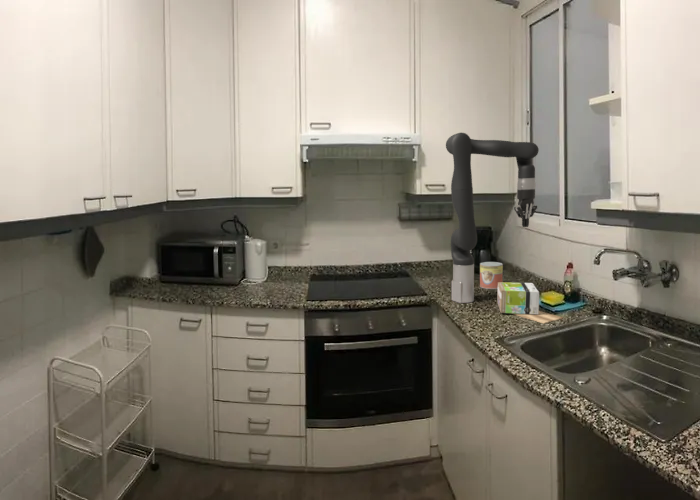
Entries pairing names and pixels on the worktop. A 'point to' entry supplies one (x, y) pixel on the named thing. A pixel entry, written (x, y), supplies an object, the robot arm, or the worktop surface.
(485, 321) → the worktop surface
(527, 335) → the worktop surface
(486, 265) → the canned food
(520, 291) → the tea box
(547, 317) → the wooden cutting board
